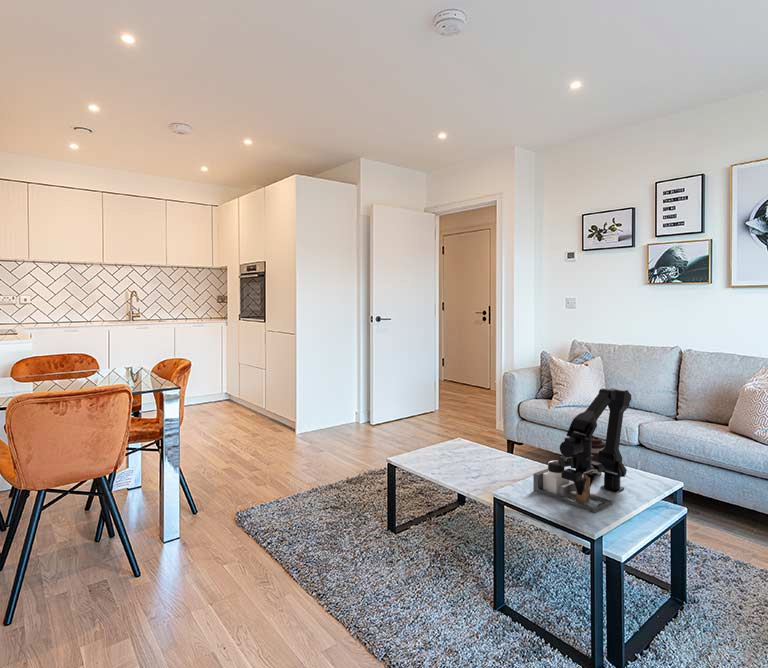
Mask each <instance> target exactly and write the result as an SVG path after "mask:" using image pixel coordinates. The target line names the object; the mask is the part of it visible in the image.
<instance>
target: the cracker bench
mask: <svg viewBox="0 0 768 668" xmlns="http://www.w3.org/2000/svg"><path fill="white" fill-rule="evenodd" d="M547 472H548V468H545V469H542V470H539V471H538V472H535V473H532V475H533V477H532V478H533V479H532V480H533V482H532V483H533V492H535V493H538V494H541V495H544V496H545V497H549V498H552V499H555V500H557V501H560V502H562V503H565V504H568V505H570V506H574V507H577V508H580V509H581V510H582V509H583V510H585V511H587V512H590V513H593V514H595V513H597V512H600V511H601V510H604V509H606V508H608V507H610V506H613V499H610V498H606V497H602V496H599V495H597V494H593V493H591V492H590V500H594V501H596V502H599V503H598V504H596V505H594V506H593V505H588V504H587V503H585V504H584V503H581V502H578V501H576V499H573V498H570V497H567V498H566V497H563V496H561V495H558V494H555V493H552V492H549V491H546V490H543V473H547Z"/></svg>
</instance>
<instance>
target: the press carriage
mask: <svg viewBox="0 0 768 668" xmlns="http://www.w3.org/2000/svg"><path fill="white" fill-rule="evenodd" d="M584 478H585V479H587V480H586V483H585V486H584V489H583V492H582V495H578V492H577V489H576V486H575V484H574V482H573V481H570V482H569V483H567V484H564V485H562V486H560V489H559V495H561V496H563V497H566V498H569V499H572V500H575V501H578V502H581V503H584V504H587V503H589V502H591V499H590V493H591V487H590V477H588V475H586V474H584Z"/></svg>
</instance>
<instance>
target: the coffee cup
mask: <svg viewBox="0 0 768 668" xmlns="http://www.w3.org/2000/svg"><path fill="white" fill-rule="evenodd" d="M594 437H595V438H594V439H592V451H591V455H594V458H592V459H591V461H595V462H597V459H598V453H599V451H602V450H603V449H604V447H605V443H606V441H603V440H602V438H601V437H598V436H594ZM594 473H596V474H598V476H599V475H601V474H602V473H603V472H601V473H600V472H598V470H597V469H594Z"/></svg>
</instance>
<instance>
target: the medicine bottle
mask: <svg viewBox="0 0 768 668" xmlns="http://www.w3.org/2000/svg"><path fill="white" fill-rule="evenodd" d="M558 462H559V460H550V461H548V463H547V469H548V472H547V473H543V490H546V491H549V492H552V493H555V494H558V495H559V489H560V486H562V485H564V484H567V483H569V482H571V481H570V480H567V479H564V478H562V477H561V472H562V471H563V470H565V467H564V468H562V466H560V465H559V463H558Z"/></svg>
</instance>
